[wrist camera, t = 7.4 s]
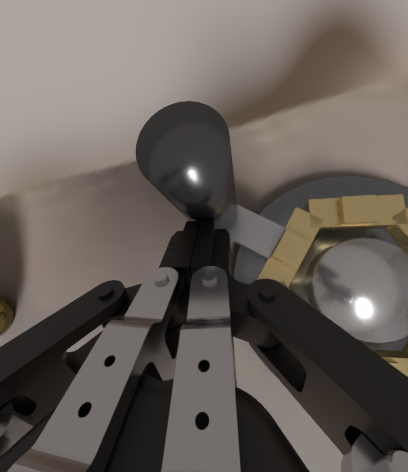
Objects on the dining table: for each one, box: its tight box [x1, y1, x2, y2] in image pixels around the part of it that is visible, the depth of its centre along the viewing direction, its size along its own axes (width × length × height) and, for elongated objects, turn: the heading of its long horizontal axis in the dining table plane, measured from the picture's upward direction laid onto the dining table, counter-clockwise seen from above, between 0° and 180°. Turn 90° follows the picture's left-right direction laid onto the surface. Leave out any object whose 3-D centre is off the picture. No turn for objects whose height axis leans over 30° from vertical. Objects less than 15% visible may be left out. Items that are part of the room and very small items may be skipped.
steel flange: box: [234, 176, 408, 376], centre depth 13 cm, size 15×15×3 cm
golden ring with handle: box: [136, 101, 408, 377], centre depth 10 cm, size 17×12×9 cm
